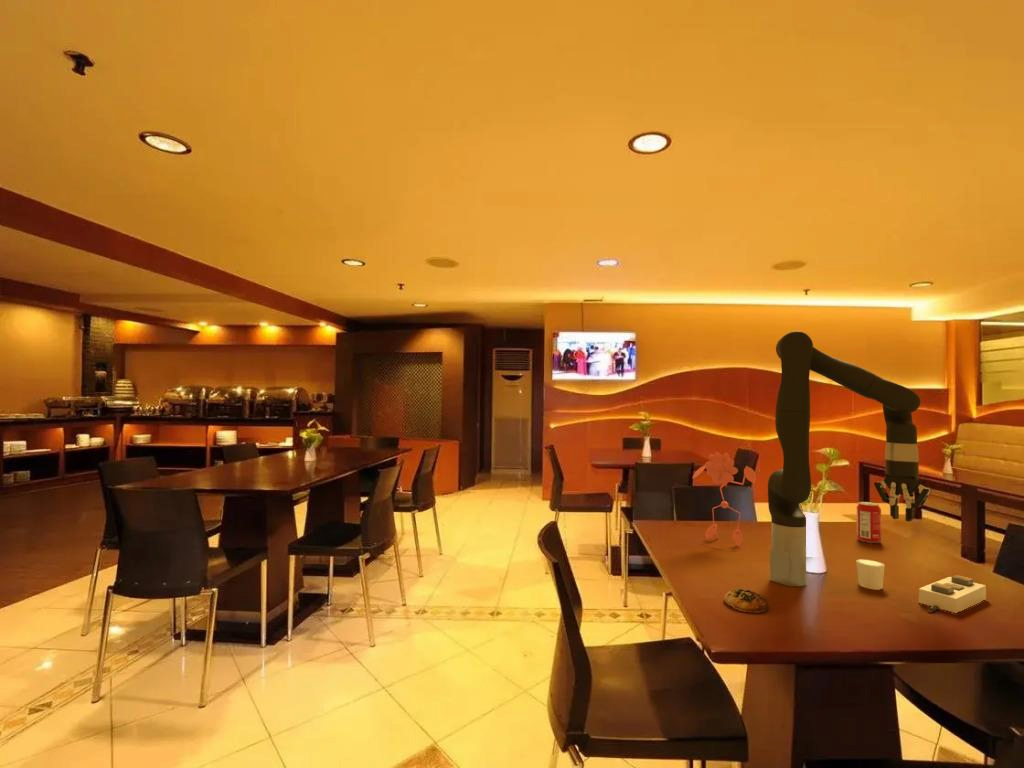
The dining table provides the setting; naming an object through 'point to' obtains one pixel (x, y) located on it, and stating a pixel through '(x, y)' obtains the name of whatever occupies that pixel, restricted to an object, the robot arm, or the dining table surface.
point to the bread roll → (746, 601)
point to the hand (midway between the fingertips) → (902, 519)
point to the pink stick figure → (723, 471)
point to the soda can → (869, 522)
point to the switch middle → (955, 586)
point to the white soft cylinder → (870, 573)
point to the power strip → (952, 596)
